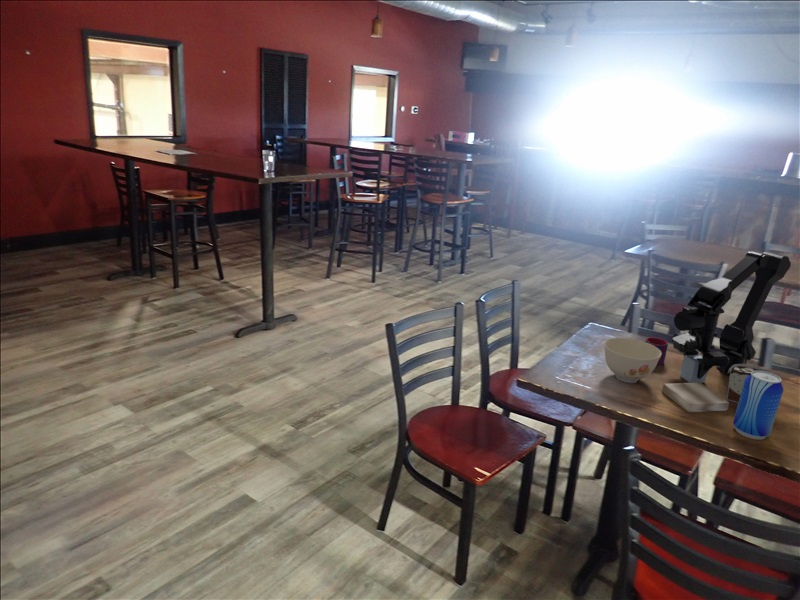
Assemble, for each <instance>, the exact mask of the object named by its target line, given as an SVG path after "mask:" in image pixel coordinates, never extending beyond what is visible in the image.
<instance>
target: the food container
mask: <svg viewBox="0 0 800 600" xmlns="http://www.w3.org/2000/svg"><path fill="white" fill-rule="evenodd" d="M752 371H765V372H769V373H772V374H775V373H773V372H772V371H770V370H769V369H766V368H763V367H760V366H756V365H753V364H748V363H746V364H736V365H733V366H732V367H731V368H730V369H729V371H728V373H729V372H730V376H729V379H728V386H727V393H726V394H727V395H726V401H728V402H734V403H737V404H738V403H739V399H740V396H741V392H742V388H743V385H744V381H745V379H746V378H747V377H748V376H749V375H751V372H752Z"/></svg>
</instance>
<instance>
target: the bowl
mask: <svg viewBox="0 0 800 600" xmlns="http://www.w3.org/2000/svg"><path fill="white" fill-rule="evenodd" d="M603 345H604V358H605V359H604V360H605V362H606V363H605V364H606V365H607V367H608V368H609V370H610V371H611V372H612V373H613V374H615V378H616V379H617V380H619V381H621V382H624V383H626V384H627V383H628V384H635V383H637V382H639V380H641V379H645V378H647V377H648V376H650V374H652V373H653V371H654V370H655V368H656V367H657V366H658V365H657V363H658V361H659V359H660V357H661V351H660V350H659V349H658V348H656V347H655V346H653V345H651V344H649V343H646V341H643V340H639V339H635V338H628V337H612V338H609V339H606V340H605V341H604V344H603Z"/></svg>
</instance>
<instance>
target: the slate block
mask: <svg viewBox="0 0 800 600" xmlns="http://www.w3.org/2000/svg"><path fill="white" fill-rule="evenodd" d="M702 356H703V355H700V354H698V355H685V356H684V355H683V360H682V365H681V369H680V374H679V377H680V378H682V379H683V380H685V381H686V382H687V383H702V384H703V383H705V382H706V380H707V375H708V372H707V373H706V374H705V375H704V376H703V377H702V378H701V379H698V378H697V374H698V368H699V362H698V360H697V358H702Z"/></svg>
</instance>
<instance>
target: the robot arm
mask: <svg viewBox="0 0 800 600" xmlns="http://www.w3.org/2000/svg"><path fill="white" fill-rule="evenodd" d="M791 266H792V263H791V261H790V258H789V256H787V255H784V254H780V253H777V252H776V253H775V252H772V251H763V252H762V253H761V252H757V251H753V250H751V251H748V252H747V253H746V254H745V256H744V257H743V258H742V259H741V260H739V262H738V263H736V264H735V265H734V266H733V267H732V268H730V269H729V270H728V271H727V272H726V273H725V274H723V275H722V276H720V277H719V278H716V279H713V280H709V281H708V282H706V283H704V284H703V285H702V286H700V287H699V289H697V291H696V292H695V293H694V295H693V296H692V298H691V299H690V300H689V302H688V303H687V306H688V307H687V306H686V307H685V306H684V307H682V310H681V311H678V312H677V313H676V314H675V315H674V318H673V323H674V326H675V328H676V329H677V330H679V332H680V331H681V332H680V333H678V332H677V333H675V334H673V335H672V338H671V342H672V344H673V349H675V350H677V351H678V352H679V353H682V354H683V357H684V356H685V355H699V354H701V356H702V358H697V360H698V362H699V368H698V374H697V378H698V379H701V378H702V377H703V376H704V375H705V374H706V373H707V374H708V372H709V371H710V370H711V369H712V368H714V367H716V369H718V370H720V371H721V372H722V373H723V374H726V375H727V376H729V377H730V372H729V373H728V371H729V369H730V368H731V367H732V366H733V365H736V364H747V361H751V360H752V359H754V357H755V355H756V354H757V352H756V350H755V348H754V345H753V341H754V338H755V337H754V336H755V335H754V330H753V327H754V325H755V322H756V320H757V318H758V316H759V314H760V313H761V310H762V308H763V306H764V304H765V302H766V300H767V298H768V295H769V294H770V292H771V291H772V287H773V286H774V284H776V283H777V282H779V281H780V280H782V279H783V278H784V277H785V276H786V274H787V272H788V271H789V270H790V268H791ZM752 275H755V279H754V282H753V283H752V285H751V288H750V289H749V292H748V293H747V295H746V298H745V300H744V302H743V304H742V306H741V309H740V310H739V313H738V314H737V316H736V319H735V321H733V322H732V323H730V324H728V323H727V324H725V325H724V326H723V329H722V331H721V332H720V334H719V333H718V332H716V328H717V324H718V321H719V320H718V319H719V315H720V314H725V310H724V309H723V307H725V305H726V304H727V303H728V302H729V301H730V300H731V299H732V292H733V291H734V290H736V289H737V288H738V287H739V286H740V285H741V284H742V283H744V282H745V281H746V280H747V279H749V278H750V276H752ZM686 331H688V332H686ZM718 334H719V340H718V341H719V351H711V350H714V349H715V347H716V346H715V345H714V344H713V340H714V337H718ZM720 350H721V351H723V352H721V351H720Z"/></svg>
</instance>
